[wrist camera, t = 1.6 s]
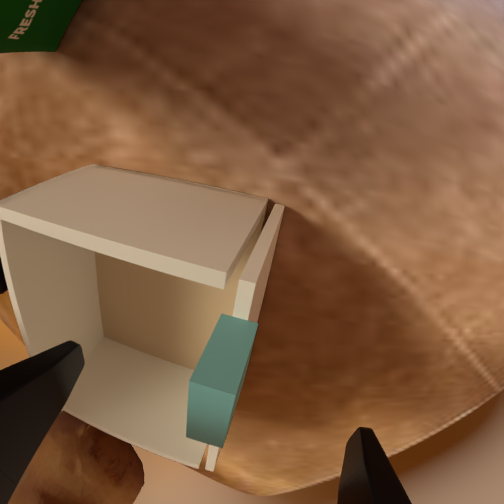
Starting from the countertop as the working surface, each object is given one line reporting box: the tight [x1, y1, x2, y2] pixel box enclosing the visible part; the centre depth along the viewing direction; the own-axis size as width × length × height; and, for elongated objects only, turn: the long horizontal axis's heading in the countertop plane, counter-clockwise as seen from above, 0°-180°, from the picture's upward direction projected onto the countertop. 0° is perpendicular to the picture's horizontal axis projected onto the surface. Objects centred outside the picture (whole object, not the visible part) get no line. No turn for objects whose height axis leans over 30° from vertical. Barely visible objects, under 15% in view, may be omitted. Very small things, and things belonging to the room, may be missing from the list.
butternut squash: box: [8, 410, 144, 504], centre depth 20 cm, size 14×13×25 cm
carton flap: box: [186, 204, 285, 472], centre depth 15 cm, size 1×14×11 cm, turn 170°
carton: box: [0, 164, 268, 469], centre depth 17 cm, size 11×14×8 cm
